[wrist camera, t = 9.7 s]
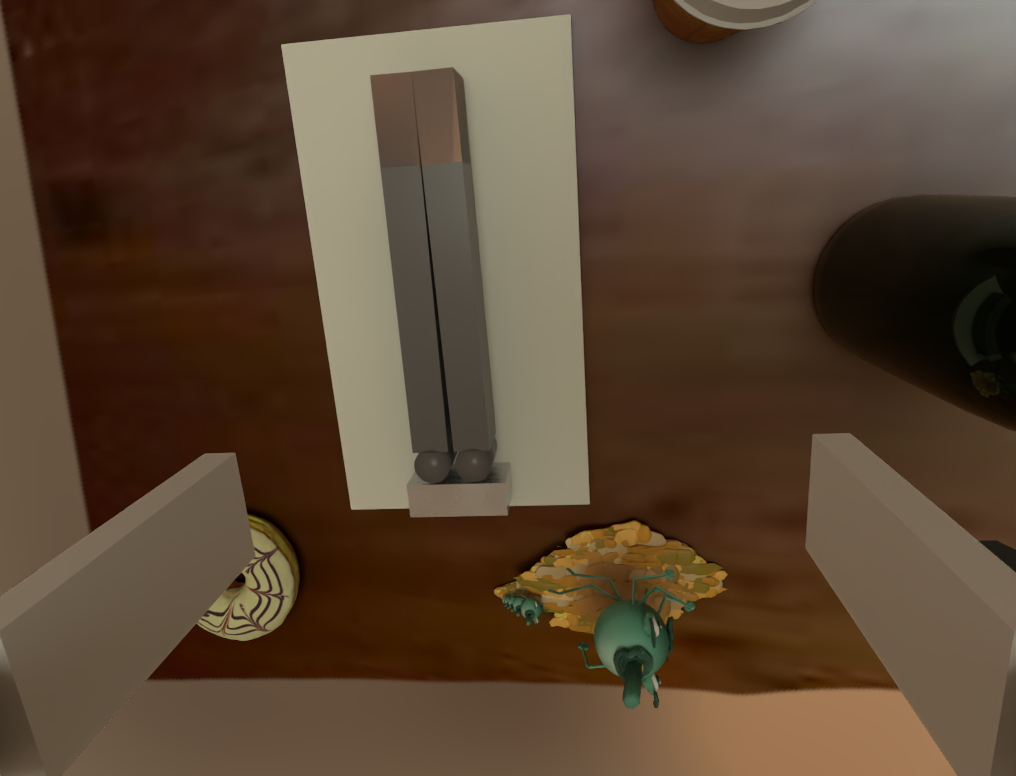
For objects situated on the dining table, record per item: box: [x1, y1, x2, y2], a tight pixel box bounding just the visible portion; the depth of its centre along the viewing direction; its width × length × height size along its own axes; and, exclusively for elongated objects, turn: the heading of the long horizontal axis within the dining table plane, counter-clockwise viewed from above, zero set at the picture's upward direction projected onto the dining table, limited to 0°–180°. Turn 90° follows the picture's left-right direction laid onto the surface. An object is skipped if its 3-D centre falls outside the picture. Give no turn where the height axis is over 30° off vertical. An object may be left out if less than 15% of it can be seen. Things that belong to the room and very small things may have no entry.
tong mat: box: [281, 14, 590, 510], centre depth 44 cm, size 18×32×1 cm, turn 4°
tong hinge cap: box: [407, 462, 512, 517], centre depth 46 cm, size 7×2×4 cm, turn 94°
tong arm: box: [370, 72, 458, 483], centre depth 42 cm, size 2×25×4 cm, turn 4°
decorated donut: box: [197, 514, 300, 641], centre depth 51 cm, size 10×11×4 cm
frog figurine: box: [494, 520, 728, 709], centre depth 43 cm, size 10×18×15 cm, turn 89°
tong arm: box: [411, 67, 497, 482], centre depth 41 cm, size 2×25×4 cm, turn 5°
